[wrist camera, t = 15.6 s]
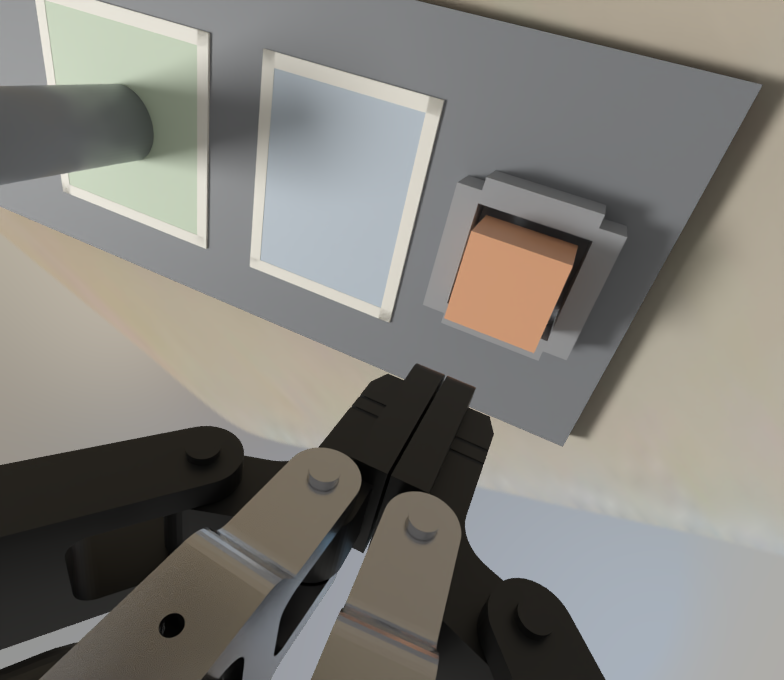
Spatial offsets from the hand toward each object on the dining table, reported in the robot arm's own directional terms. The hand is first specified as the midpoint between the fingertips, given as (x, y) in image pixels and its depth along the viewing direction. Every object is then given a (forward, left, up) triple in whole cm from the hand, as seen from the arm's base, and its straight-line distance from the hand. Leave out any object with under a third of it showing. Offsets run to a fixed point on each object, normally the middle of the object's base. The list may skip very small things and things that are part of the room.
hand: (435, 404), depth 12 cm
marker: (+21, 0, -11) cm, 24 cm away
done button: (0, 0, -10) cm, 10 cm away
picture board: (+14, 0, -12) cm, 18 cm away
